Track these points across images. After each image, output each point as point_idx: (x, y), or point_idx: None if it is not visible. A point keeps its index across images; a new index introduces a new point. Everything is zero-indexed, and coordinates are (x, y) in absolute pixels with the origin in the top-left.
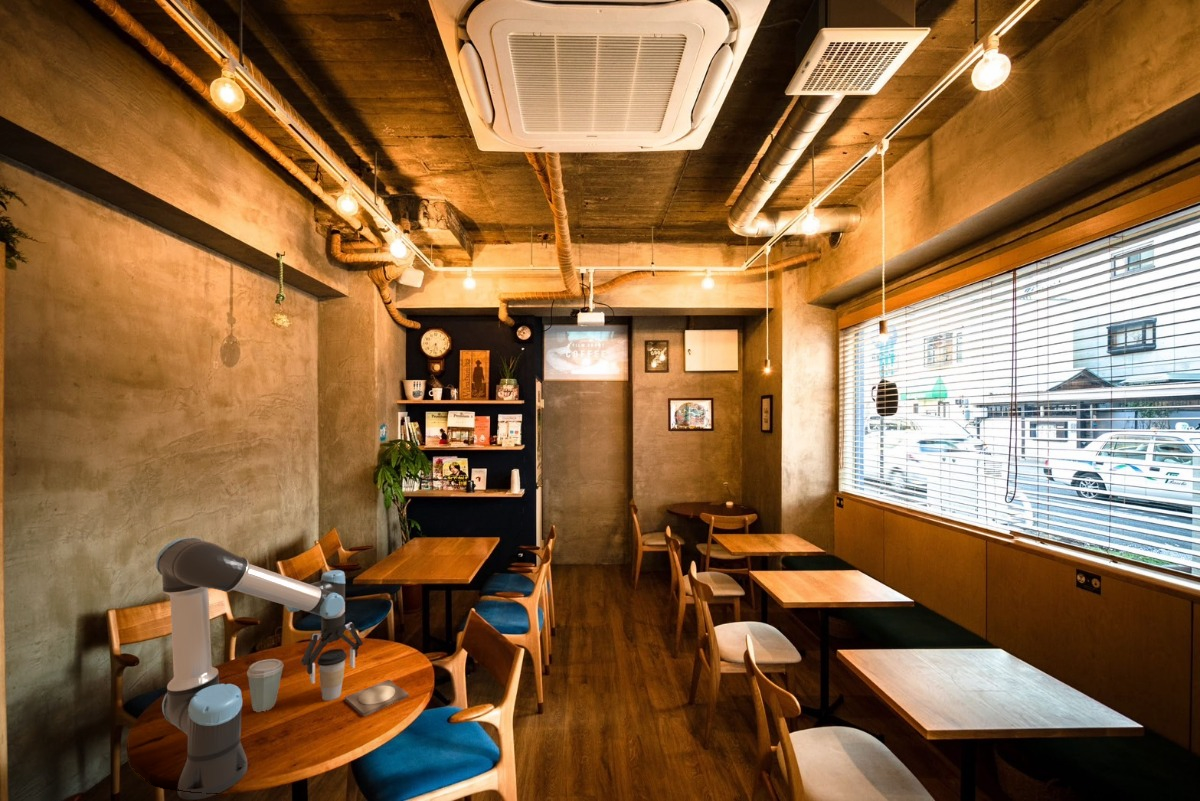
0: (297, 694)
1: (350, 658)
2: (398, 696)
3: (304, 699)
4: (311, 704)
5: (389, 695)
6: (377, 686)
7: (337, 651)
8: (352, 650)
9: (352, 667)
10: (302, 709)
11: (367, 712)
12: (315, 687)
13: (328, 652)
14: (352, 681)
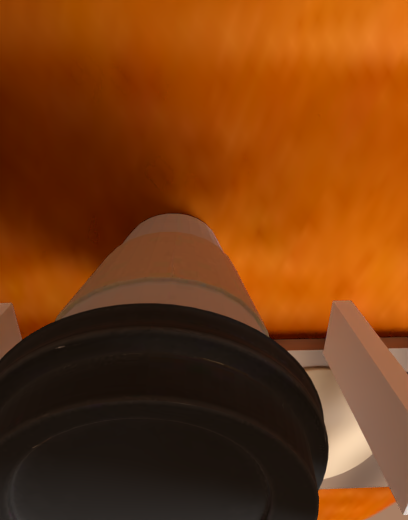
0: (8, 55)
1: (361, 364)
2: (354, 480)
3: (40, 171)
4: (65, 259)
5: (337, 465)
6: None
7: (240, 492)
8: (405, 504)
9: (326, 351)
10: (16, 274)
11: None
12: (135, 50)
13: (119, 445)
14: (336, 174)
